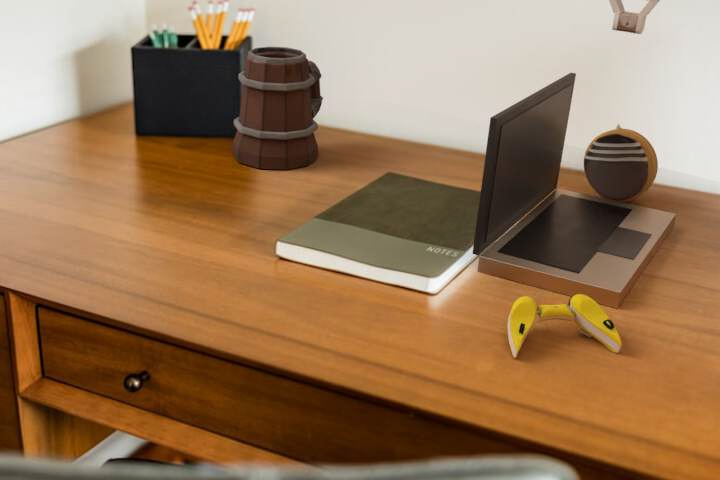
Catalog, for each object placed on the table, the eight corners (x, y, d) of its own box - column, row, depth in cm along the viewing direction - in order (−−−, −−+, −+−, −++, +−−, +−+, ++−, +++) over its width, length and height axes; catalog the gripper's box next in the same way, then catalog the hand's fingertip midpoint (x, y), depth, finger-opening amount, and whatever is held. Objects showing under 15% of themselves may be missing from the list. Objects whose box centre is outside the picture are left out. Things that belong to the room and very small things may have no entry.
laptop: (673, 227, 110) (676, 212, 109) (617, 308, 89) (620, 291, 88) (555, 201, 117) (557, 187, 116) (477, 271, 96) (479, 255, 95)
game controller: (591, 310, 86) (602, 286, 84) (614, 363, 82) (626, 339, 79) (492, 314, 85) (500, 290, 82) (509, 369, 80) (518, 345, 78)
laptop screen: (577, 73, 110) (570, 72, 110) (497, 119, 89) (490, 117, 89) (557, 188, 116) (551, 186, 116) (479, 255, 95) (472, 254, 95)
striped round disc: (575, 193, 120) (586, 120, 116) (588, 186, 123) (599, 115, 119) (642, 211, 115) (656, 136, 111) (654, 204, 117) (668, 130, 113)
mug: (282, 176, 121) (284, 65, 115) (216, 157, 127) (214, 51, 121) (349, 150, 133) (354, 48, 127) (286, 133, 139) (287, 36, 133)
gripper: (771, -103, 86) (736, 41, 92) (562, -122, 94) (542, 12, 100) (765, -100, 80) (728, 53, 86) (544, -120, 89) (525, 21, 95)
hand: (627, 31), depth 93 cm, fingers closed
